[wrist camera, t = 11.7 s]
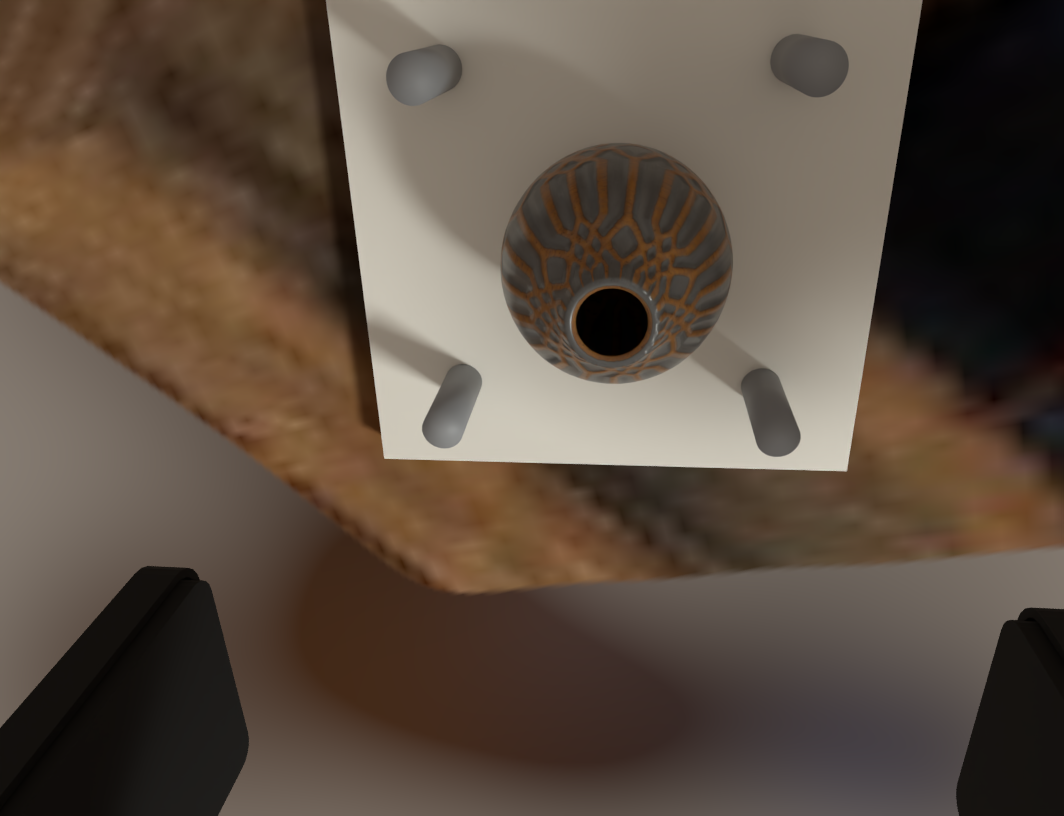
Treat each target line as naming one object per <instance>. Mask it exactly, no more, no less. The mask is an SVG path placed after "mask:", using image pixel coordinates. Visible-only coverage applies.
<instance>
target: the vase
mask: <svg viewBox="0 0 1064 816" xmlns="http://www.w3.org/2000/svg"><path fill="white" fill-rule="evenodd" d="M732 269H733V252H732V243H731V238H730V234H729V230H728V226H727V223H726V220H725V217H724V215H723V212H722V210H721V208H720V206H719V204H718V203H717V201H716V199H715V197H714V196H713V194H712V193H711V191H710V190H709V188H708V187H707V186H706V185H705V183H704V182H703V181H702V180H701V179H700V178H699V177H698V176H697V175H696V174H695V173H694V172H693V171H692V170H691V169H689V168H688V167H687V166H686V165H684V164H683V163H682V162H680V161H679V160H677V159H675V158H674V157H672V156H670V155H668V154H666V153H664V152H662V151H659V150H657V149H654V148H650V147H647V146H643V145H638V144H631V143H608V144H600V145H595V146H591V147H587V148H584V149H581V150H578V151H576V152H574V153H571V154H569V155H567V156H565V157H564V158H562V159H560V160H559V161H557V162H556V163H554V164H553V165H551V166H550V167H549V168H548V169H546V170H545V171H544V172H543V173H542V174H540V175H539V176H538V177H537V178H536V179H535V180H534V181H533V183H532V184H531V185H530V186H529V187H528V189H527V190H526V191H525V193H524V194H523V195H522V197H521V198H520V200H519V201H518V203H517V205H516V207H515V209H514V210H513V213H512V215H511V217H510V219H509V222H508V225H507V228H506V230H505V234H504V238H503V243H502V248H501V262H500V271H501V282H502V288H503V293H504V297H505V300H506V304H507V307H508V309H509V312H510V314H511V316H512V319H513V321H514V322H515V324H516V326H517V328H518V330H519V331H520V333H521V334H522V336H523V337H524V339H525V340H526V341H527V342H528V344H529V345H530V346H531V347H532V348H533V349H534V350H535V351H536V352H537V353H538V354H539V355H540V356H541V357H542V358H543V359H545V360H546V361H547V362H549V363H550V364H551V365H553V366H554V367H556V368H558V369H560V370H561V371H563V372H565V373H567V374H569V375H572V376H575V377H577V378H580V379H583V380H587V381H591V382H597V383H605V384H624V383H632V382H637V381H642V380H645V379H649V378H652V377H654V376H657V375H659V374H662V373H664V372H666V371H668V370H670V369H671V368H673V367H675V366H676V365H678V364H679V363H681V362H682V361H683V360H685V359H686V358H687V357H688V356H689V355H691V354H692V353H693V352H694V351H695V350H696V349H697V348H698V347H699V346H700V345H701V344H702V342H703V341H704V340H705V339H706V337H707V336H708V335H709V333H710V332H711V331H712V329H713V327H714V326H715V324H716V323H717V321H718V319H719V317H720V315H721V313H722V310H723V308H724V305H725V303H726V300H727V297H728V294H729V289H730V285H731V279H732Z"/></svg>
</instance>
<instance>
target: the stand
mask: <svg viewBox="0 0 1064 816" xmlns="http://www.w3.org/2000/svg"><path fill="white" fill-rule="evenodd" d="M922 1H923V0H326V5H327V13H328V21H329V29H330V36H331V44H332V52H333V60H334V68H335V76H336V83H337V91H338V99H339V107H340V115H341V123H342V130H343V138H344V146H345V154H346V162H347V170H348V177H349V185H350V193H351V201H352V209H353V217H354V224H355V232H356V240H357V248H358V256H359V264H360V271H361V279H362V287H363V295H364V303H365V311H366V318H367V326H368V334H369V342H370V350H371V358H372V365H373V373H374V381H375V389H376V397H377V405H378V412H379V420H380V428H381V436H382V444H383V452H384V459H418V460H455V461H491V462H528V463H565V464H602V465H638V466H675V467H712V468H749V469H786V470H822V471H847V466H848V460H849V453H850V447H851V441H852V435H853V429H854V422H855V416H856V410H857V404H858V398H859V391H860V385H861V379H862V373H863V367H864V360H865V354H866V348H867V342H868V336H869V329H870V323H871V317H872V311H873V305H874V298H875V292H876V286H877V280H878V274H879V267H880V261H881V255H882V249H883V243H884V236H885V230H886V224H887V218H888V211H889V205H890V199H891V193H892V187H893V180H894V174H895V168H896V162H897V156H898V149H899V143H900V137H901V131H902V125H903V118H904V112H905V106H906V100H907V94H908V87H909V81H910V75H911V69H912V63H913V56H914V50H915V44H916V38H917V32H918V25H919V19H920V13H921V7H922ZM608 143H631V144H638V145H643V146H647V147H650V148H654V149H657V150H659V151H662V152H664V153H666V154H668V155H670V156H672V157H674V158H675V159H677V160H679V161H680V162H682V163H683V164H684V165H686V166H687V167H688V168H689V169H691V170H692V171H693V172H694V173H695V174H696V175H697V176H698V177H699V178H700V179H701V180H702V181H703V182H704V183H705V185H706V186H707V187H708V188H709V190H710V191H711V193H712V194H713V196H714V197H715V199H716V201H717V203H718V204H719V206H720V208H721V210H722V212H723V215H724V217H725V220H726V223H727V226H728V230H729V234H730V238H731V243H732V252H733V269H732V279H731V285H730V289H729V294H728V297H727V300H726V303H725V305H724V308H723V310H722V313H721V315H720V317H719V319H718V321H717V323H716V324H715V326H714V327H713V329H712V331H711V332H710V333H709V335H708V336H707V337H706V339H705V340H704V341H703V342H702V344H701V345H700V346H699V347H698V348H697V349H696V350H695V351H694V352H693V353H692V354H691V355H689V356H688V357H687V358H686V359H685V360H683V361H682V362H681V363H679V364H678V365H676V366H675V367H673V368H671V369H670V370H668V371H666V372H664V373H662V374H659V375H657V376H654V377H652V378H649V379H645V380H642V381H637V382H632V383H624V384H605V383H597V382H591V381H587V380H583V379H580V378H577V377H575V376H572V375H569V374H567V373H565V372H563V371H561V370H560V369H558V368H556V367H554V366H553V365H551V364H550V363H549V362H547V361H546V360H545V359H543V358H542V357H541V356H540V355H539V354H538V353H537V352H536V351H535V350H534V349H533V348H532V347H531V346H530V345H529V344H528V342H527V341H526V340H525V339H524V337H523V336H522V334H521V333H520V331H519V330H518V328H517V326H516V324H515V322H514V321H513V319H512V316H511V314H510V312H509V309H508V307H507V304H506V300H505V297H504V293H503V288H502V282H501V271H500V262H501V248H502V243H503V238H504V234H505V230H506V228H507V225H508V222H509V219H510V217H511V215H512V213H513V210H514V209H515V207H516V205H517V203H518V201H519V200H520V198H521V197H522V195H523V194H524V193H525V191H526V190H527V189H528V187H529V186H530V185H531V184H532V183H533V181H534V180H535V179H536V178H537V177H538V176H539V175H540V174H542V173H543V172H544V171H545V170H546V169H548V168H549V167H550V166H551V165H553V164H554V163H556V162H557V161H559V160H560V159H562V158H564V157H565V156H567V155H569V154H571V153H574V152H576V151H578V150H581V149H584V148H587V147H591V146H595V145H600V144H608Z"/></svg>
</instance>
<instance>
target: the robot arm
mask: <svg viewBox="0 0 1064 816" xmlns="http://www.w3.org/2000/svg"><path fill="white" fill-rule="evenodd" d="M248 746H249V737H248V731H247V727H246V723H245V719H244V715H243V711H242V708H241V704H240V700H239V696H238V692H237V688H236V684H235V680H234V676H233V672H232V668H231V665H230V660H229V656H228V652H227V649H226V645H225V641H224V637H223V633H222V629H221V625H220V621H219V617H218V613H217V609H216V605H215V602H214V598H213V594H212V590H211V588H210V585H209V584H208V583H207V582H206V581H202V580H200V579H199V577H198V575H197V573H196V572H195V571H194V570H193V569H190V568H177V567H156V566H155V567H154V566H147V567H143V568H141V569H140V570H139V571H138V572H137V573H135V574H134V576H133V577H132V578H131V579H130V580H129V581H128V582H127V583H126V585H125V586H124V587H123V588H122V589H121V590H120V591H119V593H118V594H117V595H116V596H115V597H114V599H112V601H111V602H110V603H109V604H108V605H107V606H106V608H105V609H104V610H103V611H102V612H101V613H100V614H99V616H98V617H97V618H96V619H95V620H94V621H93V622H92V624H91V625H90V626H89V627H88V628H87V629H86V630H85V632H84V633H83V634H82V635H81V636H80V637H79V639H78V640H77V641H76V642H75V643H74V644H73V645H72V646H71V648H70V649H69V650H68V651H67V652H66V653H65V654H64V656H63V657H62V658H61V659H60V660H59V661H58V663H57V664H56V665H55V666H54V667H53V668H52V669H51V671H50V672H49V673H48V674H47V675H46V676H45V678H44V679H43V680H42V681H41V682H40V683H39V684H38V686H37V687H36V688H35V689H34V690H33V691H32V692H31V693H30V695H29V696H28V697H27V698H26V699H25V700H24V701H23V703H22V704H21V705H20V706H19V707H18V709H17V710H16V711H15V712H14V713H13V714H12V715H11V717H10V718H9V719H8V720H7V721H6V722H5V723H4V724H3V726H2V727H1V728H0V816H218V814H219V812H220V810H221V808H222V806H223V805H224V803H225V801H226V798H227V797H228V795H229V793H230V791H231V789H232V787H233V785H234V783H235V781H236V779H237V777H238V775H239V773H240V771H241V769H242V767H243V765H244V763H245V760H246V756H247V753H248ZM956 790H957V791H956V799H957V807H958V812H959V816H1064V609H1048V608H1026V609H1024V610H1023V611H1022V612H1021V613H1020V615H1019V617H1018V620H1009V621H1006V622H1005V623H1004V625H1003V627H1002V629H1001V633H1000V636H999V640H998V643H997V647H996V650H995V654H994V657H993V661H992V664H991V668H990V671H989V675H988V678H987V682H986V685H985V689H984V692H983V696H982V699H981V703H980V706H979V710H978V713H977V717H976V720H975V724H974V727H973V731H972V734H971V738H970V741H969V745H968V748H967V752H966V755H965V759H964V762H963V766H962V769H961V773H960V776H959V780H958V783H957V789H956Z"/></svg>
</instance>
